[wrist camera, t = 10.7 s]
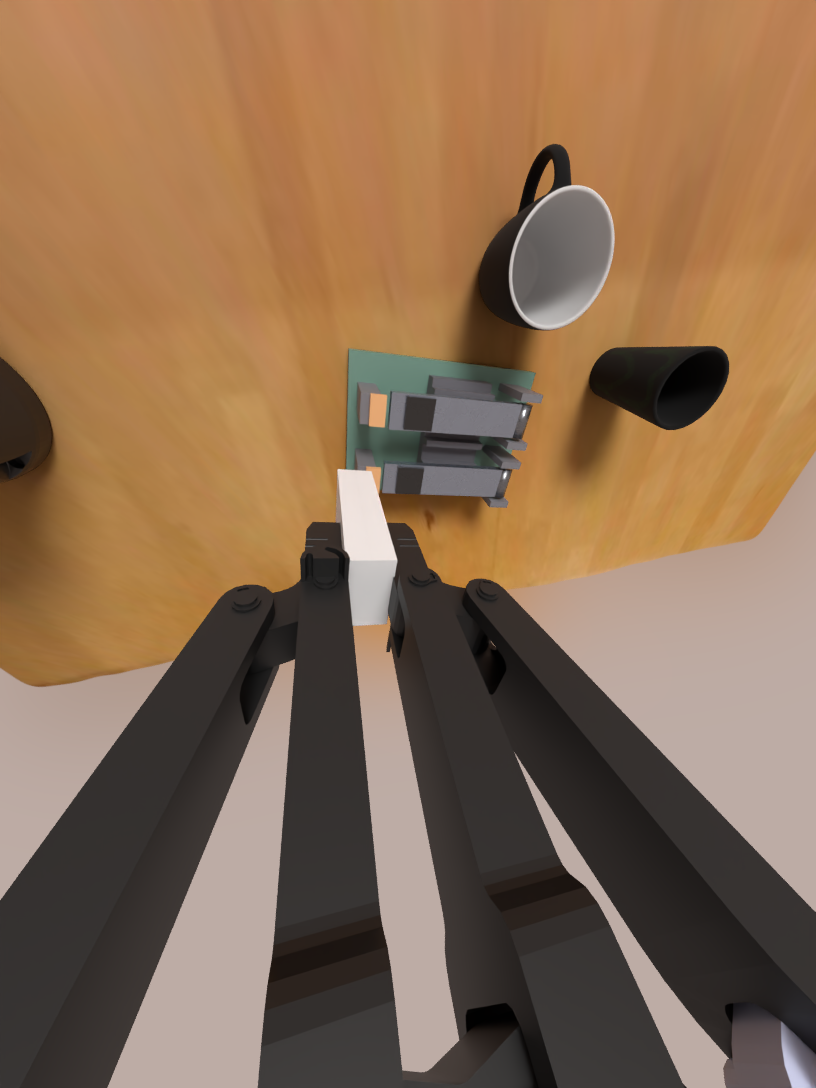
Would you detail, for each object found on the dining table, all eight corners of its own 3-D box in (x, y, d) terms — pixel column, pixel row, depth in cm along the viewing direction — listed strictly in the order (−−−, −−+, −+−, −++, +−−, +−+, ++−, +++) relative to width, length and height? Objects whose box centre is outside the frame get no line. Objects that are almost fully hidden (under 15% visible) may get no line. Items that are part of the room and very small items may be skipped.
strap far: (381, 488, 40) (382, 494, 39) (383, 459, 38) (385, 465, 37) (500, 492, 44) (506, 498, 42) (508, 466, 42) (514, 471, 40)
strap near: (386, 425, 36) (389, 430, 34) (390, 389, 34) (392, 393, 32) (518, 435, 39) (525, 439, 38) (528, 403, 37) (535, 406, 36)
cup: (570, 395, 43) (638, 420, 34) (604, 328, 39) (692, 335, 30) (615, 410, 46) (690, 437, 36) (651, 348, 42) (746, 360, 32)
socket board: (345, 484, 45) (347, 512, 39) (348, 348, 36) (351, 356, 30) (495, 490, 50) (518, 516, 43) (530, 371, 41) (565, 382, 35)
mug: (540, 323, 38) (597, 327, 30) (464, 328, 37) (502, 334, 29) (564, 169, 31) (647, 118, 23) (472, 169, 30) (524, 117, 22)
